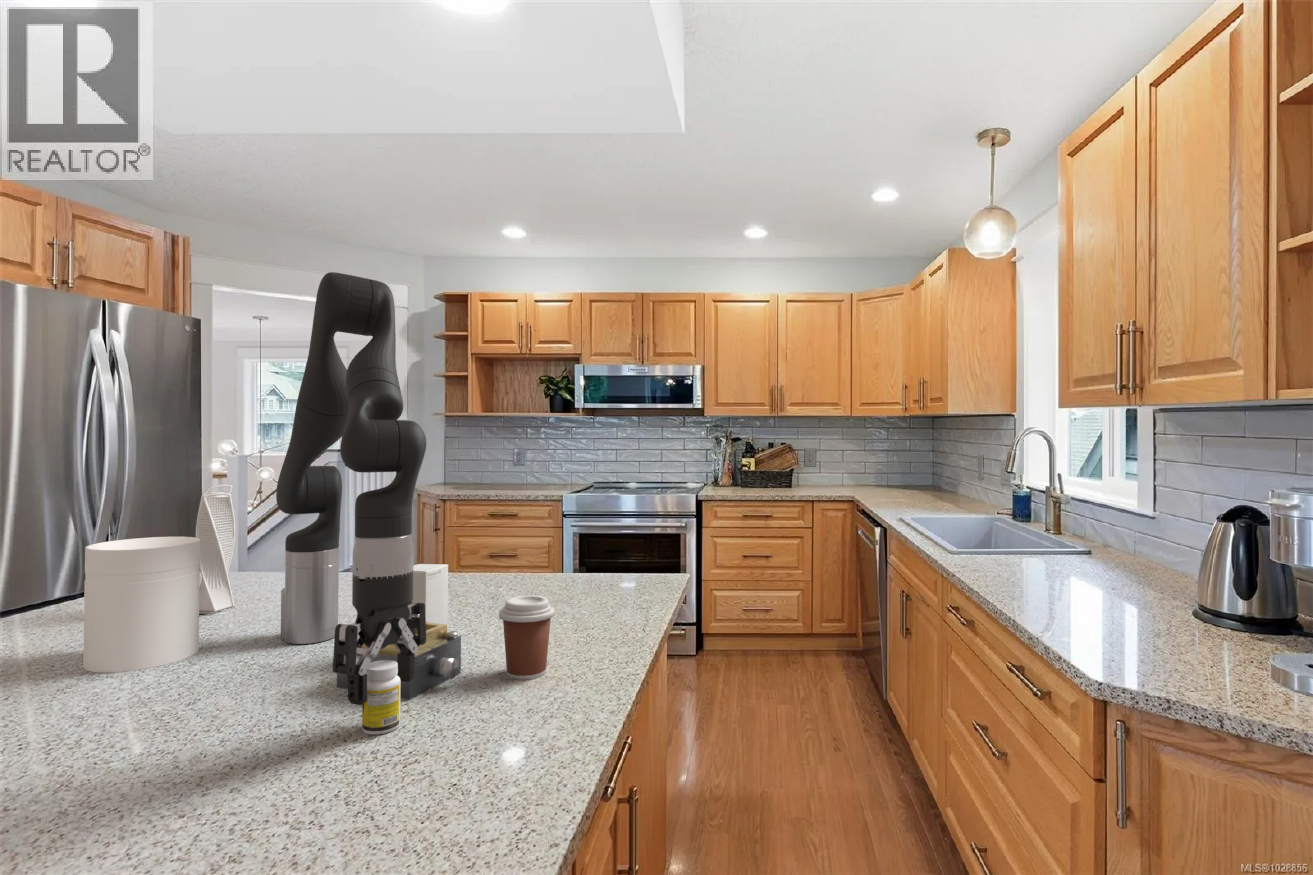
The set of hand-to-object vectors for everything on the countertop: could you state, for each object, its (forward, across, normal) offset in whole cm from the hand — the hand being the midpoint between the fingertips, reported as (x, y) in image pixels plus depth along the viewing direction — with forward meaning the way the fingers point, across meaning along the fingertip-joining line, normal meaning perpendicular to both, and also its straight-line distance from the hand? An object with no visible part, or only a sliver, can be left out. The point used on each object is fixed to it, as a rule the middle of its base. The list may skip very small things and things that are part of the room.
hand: (382, 691), depth 87 cm
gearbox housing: (+5, -15, -9) cm, 18 cm away
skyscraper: (+4, -35, -80) cm, 88 cm away
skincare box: (+5, -27, -16) cm, 32 cm away
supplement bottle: (+5, 0, 0) cm, 5 cm away
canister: (+4, -8, -60) cm, 61 cm away
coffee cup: (+5, -25, +7) cm, 26 cm away
